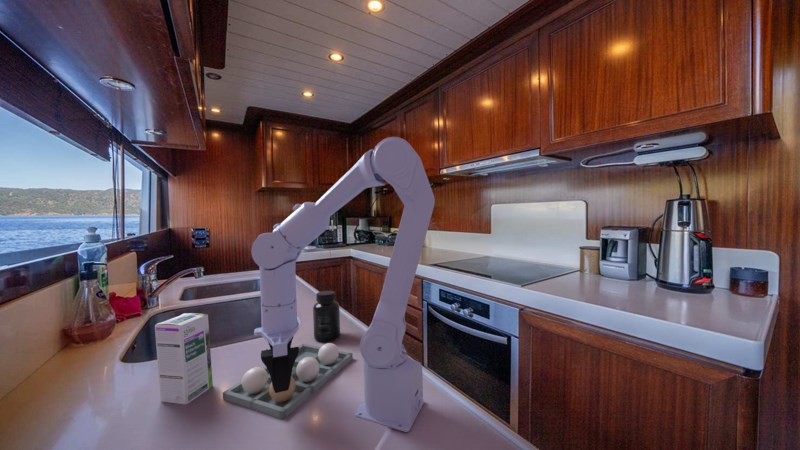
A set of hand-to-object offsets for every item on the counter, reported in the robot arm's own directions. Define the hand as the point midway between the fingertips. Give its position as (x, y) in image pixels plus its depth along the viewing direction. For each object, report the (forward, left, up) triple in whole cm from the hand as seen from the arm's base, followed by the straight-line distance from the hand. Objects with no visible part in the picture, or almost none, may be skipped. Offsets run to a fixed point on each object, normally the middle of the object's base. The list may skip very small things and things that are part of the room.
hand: (281, 378), depth 52 cm
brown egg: (0, 0, -4) cm, 4 cm away
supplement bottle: (+9, -25, -5) cm, 27 cm away
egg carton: (+3, -7, -4) cm, 8 cm away
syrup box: (+18, +5, -5) cm, 19 cm away
